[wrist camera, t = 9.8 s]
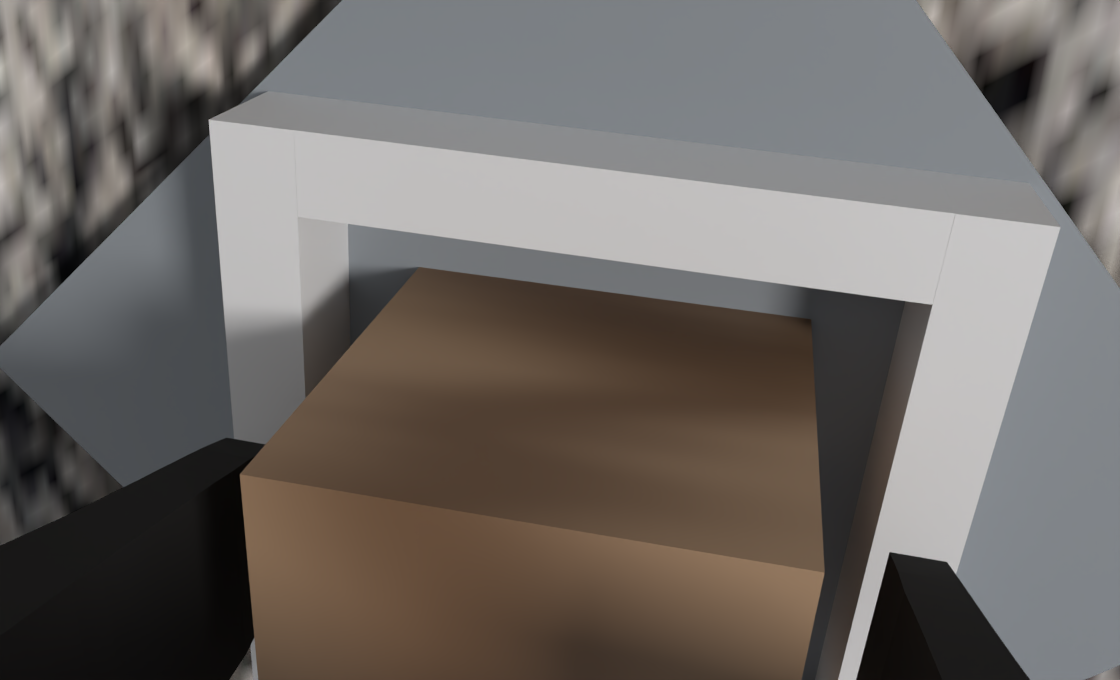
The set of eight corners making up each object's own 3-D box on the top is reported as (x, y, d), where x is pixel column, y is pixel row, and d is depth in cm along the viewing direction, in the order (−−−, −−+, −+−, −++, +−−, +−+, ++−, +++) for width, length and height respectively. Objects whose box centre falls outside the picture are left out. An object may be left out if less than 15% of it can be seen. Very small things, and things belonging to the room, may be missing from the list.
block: (811, 318, 13) (824, 571, 8) (752, 633, 15) (739, 967, 11) (419, 266, 13) (239, 474, 9) (418, 574, 16) (274, 862, 11)
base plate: (1304, 550, 13) (1388, 664, 12) (557, 870, 19) (532, 983, 17) (682, -330, 11) (660, -366, 9) (14, 340, 16) (-86, 405, 14)
